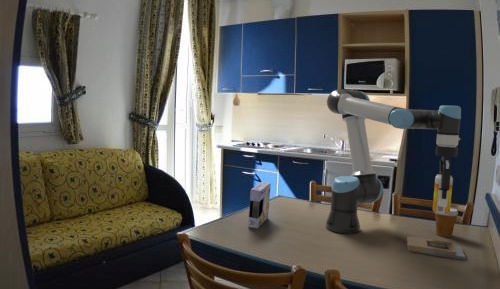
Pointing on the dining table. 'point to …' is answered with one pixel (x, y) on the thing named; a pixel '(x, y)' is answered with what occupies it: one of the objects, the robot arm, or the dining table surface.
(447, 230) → the disposable coffee cup
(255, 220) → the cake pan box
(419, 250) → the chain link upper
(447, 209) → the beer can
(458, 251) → the grey flat plate
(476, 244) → the dining table surface
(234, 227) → the dining table surface
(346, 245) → the dining table surface
